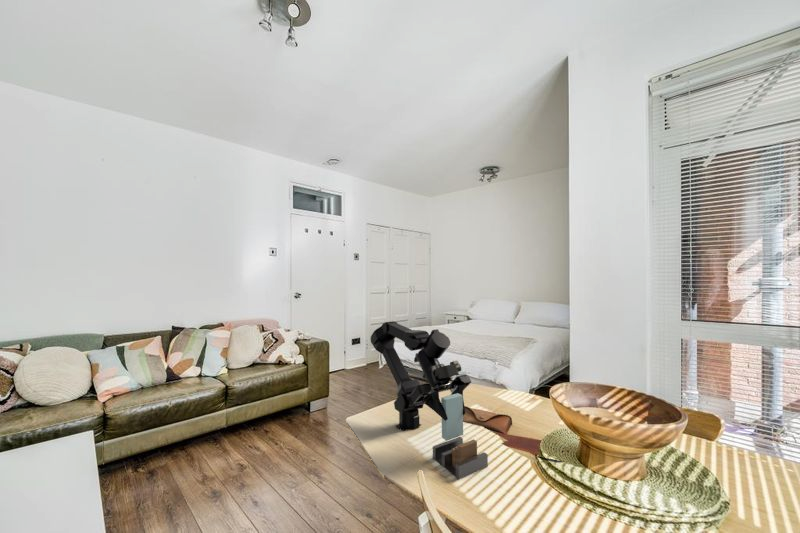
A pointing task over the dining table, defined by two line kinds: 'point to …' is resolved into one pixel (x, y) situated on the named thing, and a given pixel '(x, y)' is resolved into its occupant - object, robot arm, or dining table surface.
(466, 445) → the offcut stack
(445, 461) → the rack
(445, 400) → the tall sheet
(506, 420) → the sunglasses case
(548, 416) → the dining table surface
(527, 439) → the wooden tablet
